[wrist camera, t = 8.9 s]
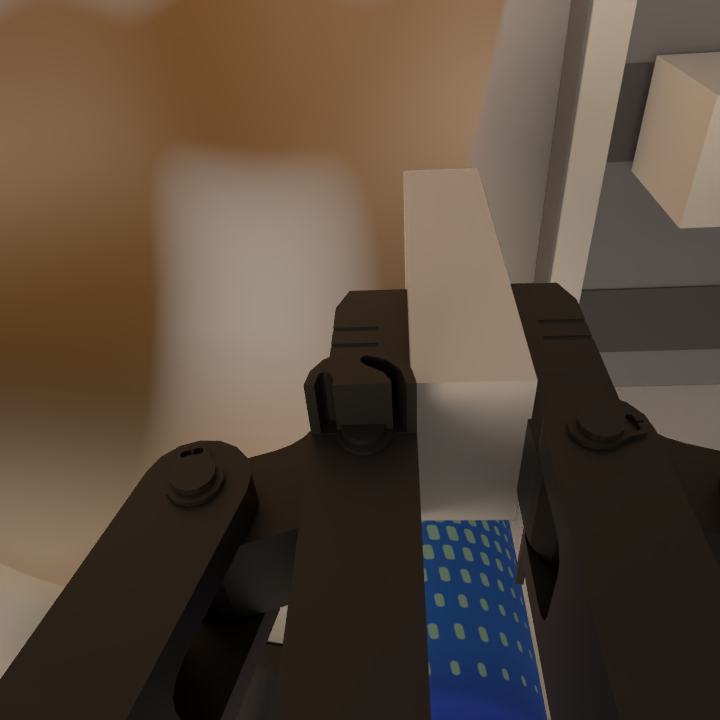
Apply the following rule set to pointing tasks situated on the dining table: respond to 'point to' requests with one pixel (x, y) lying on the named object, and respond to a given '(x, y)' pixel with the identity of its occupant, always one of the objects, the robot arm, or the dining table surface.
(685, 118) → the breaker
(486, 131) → the dining table surface
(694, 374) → the panel
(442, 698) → the beer can
